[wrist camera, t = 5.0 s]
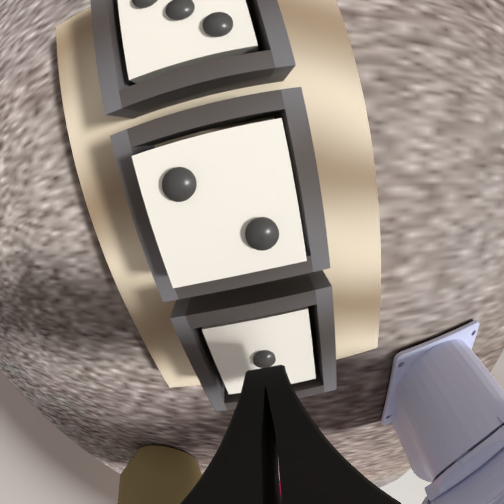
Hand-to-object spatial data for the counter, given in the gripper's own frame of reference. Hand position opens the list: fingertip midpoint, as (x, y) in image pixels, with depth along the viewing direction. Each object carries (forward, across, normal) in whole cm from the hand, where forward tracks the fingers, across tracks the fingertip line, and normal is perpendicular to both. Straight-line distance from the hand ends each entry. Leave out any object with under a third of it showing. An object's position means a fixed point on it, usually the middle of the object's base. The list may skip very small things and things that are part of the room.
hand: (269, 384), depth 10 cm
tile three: (+3, 0, -13) cm, 14 cm away
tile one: (+4, 0, 0) cm, 4 cm away
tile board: (+5, 0, -7) cm, 8 cm away
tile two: (+2, 0, -7) cm, 7 cm away
